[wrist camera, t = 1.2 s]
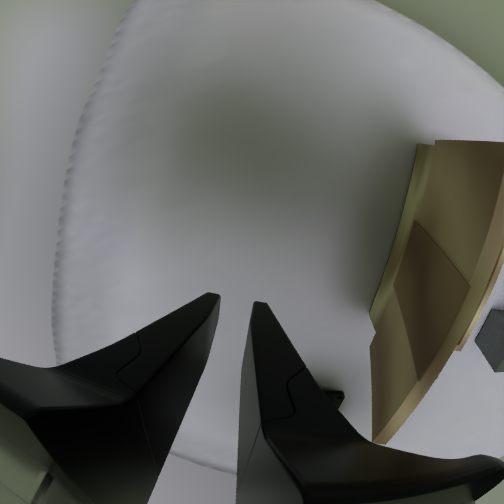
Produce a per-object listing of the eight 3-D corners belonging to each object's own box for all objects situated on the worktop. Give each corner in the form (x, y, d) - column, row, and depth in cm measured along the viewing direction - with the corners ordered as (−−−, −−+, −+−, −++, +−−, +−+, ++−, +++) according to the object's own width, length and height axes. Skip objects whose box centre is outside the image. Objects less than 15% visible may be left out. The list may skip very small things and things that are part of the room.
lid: (385, 447, 11) (369, 445, 12) (379, 347, 19) (367, 344, 20) (528, 152, 6) (509, 141, 6) (446, 144, 14) (432, 139, 14)
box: (442, 322, 23) (460, 351, 19) (368, 313, 23) (380, 346, 19) (494, 174, 17) (526, 185, 13) (418, 143, 18) (446, 147, 14)
